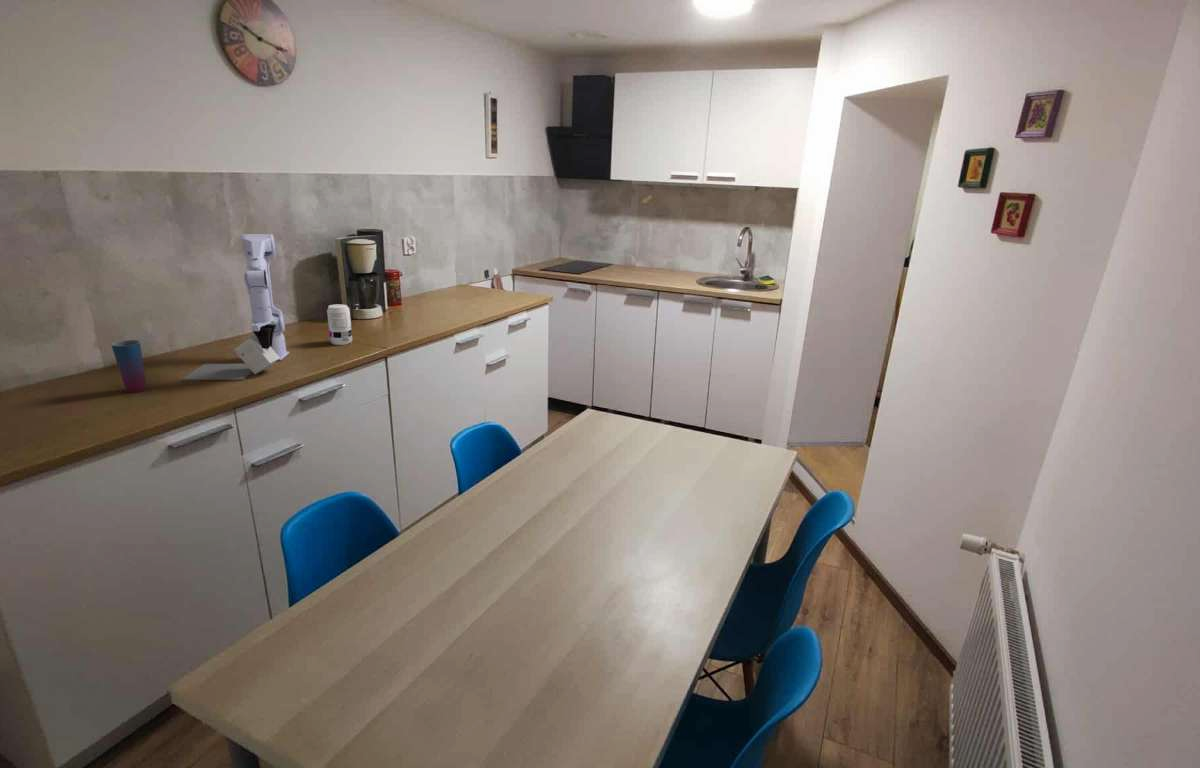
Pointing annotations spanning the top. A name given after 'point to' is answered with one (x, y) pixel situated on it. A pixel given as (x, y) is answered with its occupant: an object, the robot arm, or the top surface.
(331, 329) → the supplement can
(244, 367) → the display mat
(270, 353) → the small box
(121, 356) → the cup
